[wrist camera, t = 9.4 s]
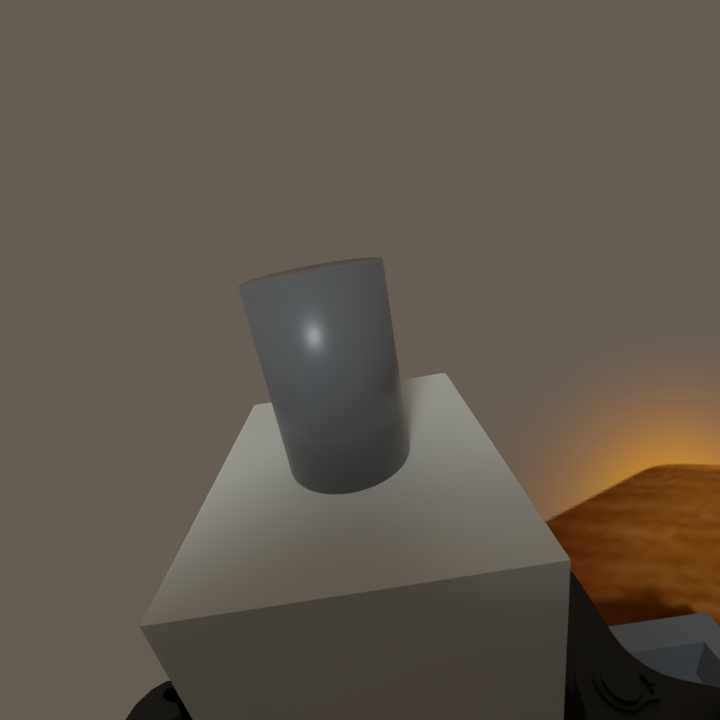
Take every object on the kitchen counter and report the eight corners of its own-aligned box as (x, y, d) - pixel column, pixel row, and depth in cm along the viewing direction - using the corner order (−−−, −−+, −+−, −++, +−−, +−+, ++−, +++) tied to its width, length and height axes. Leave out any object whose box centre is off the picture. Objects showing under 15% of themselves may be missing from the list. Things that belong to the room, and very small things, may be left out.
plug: (476, 706, 13) (432, 237, 7) (551, 982, 8) (583, 256, 3) (352, 724, 13) (215, 276, 7) (355, 1005, 8) (-11, 362, 3)
